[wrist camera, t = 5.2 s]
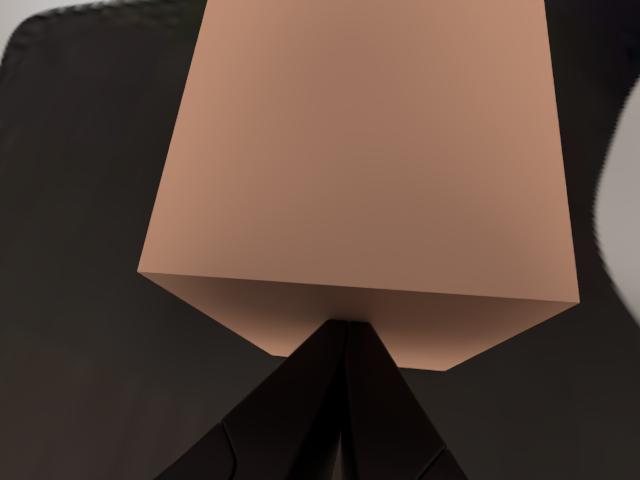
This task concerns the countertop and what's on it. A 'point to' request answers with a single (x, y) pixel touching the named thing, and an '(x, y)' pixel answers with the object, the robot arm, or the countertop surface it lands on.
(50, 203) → the countertop surface
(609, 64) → the countertop surface
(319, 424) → the robot arm
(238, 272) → the terracotta block
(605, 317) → the countertop surface
